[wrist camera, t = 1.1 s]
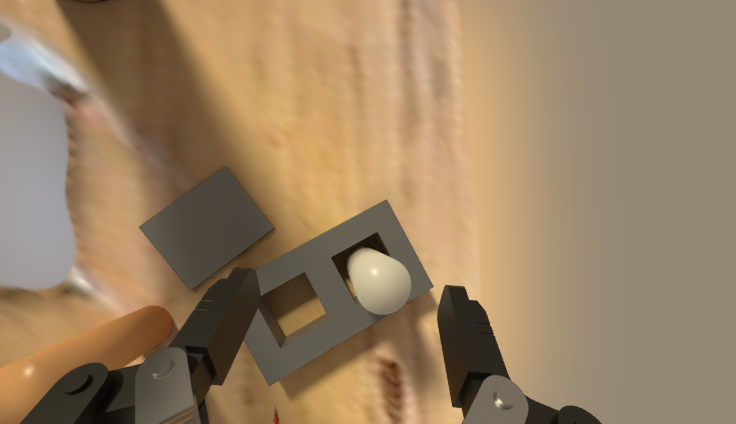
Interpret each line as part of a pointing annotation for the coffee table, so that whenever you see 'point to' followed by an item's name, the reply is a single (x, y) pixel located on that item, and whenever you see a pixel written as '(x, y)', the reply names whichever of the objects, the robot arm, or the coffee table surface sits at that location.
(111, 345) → the peg
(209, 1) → the coffee table surface
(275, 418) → the multimeter
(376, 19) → the coffee table surface
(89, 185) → the coffee table surface
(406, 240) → the housing
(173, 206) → the lid plate
